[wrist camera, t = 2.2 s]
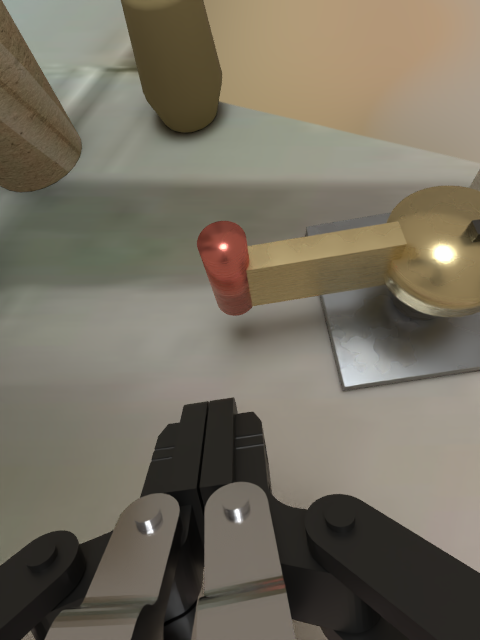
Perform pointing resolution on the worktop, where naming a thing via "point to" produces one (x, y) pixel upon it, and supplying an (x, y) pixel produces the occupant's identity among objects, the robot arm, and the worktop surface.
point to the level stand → (393, 331)
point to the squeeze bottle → (175, 60)
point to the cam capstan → (359, 258)
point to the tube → (30, 119)
